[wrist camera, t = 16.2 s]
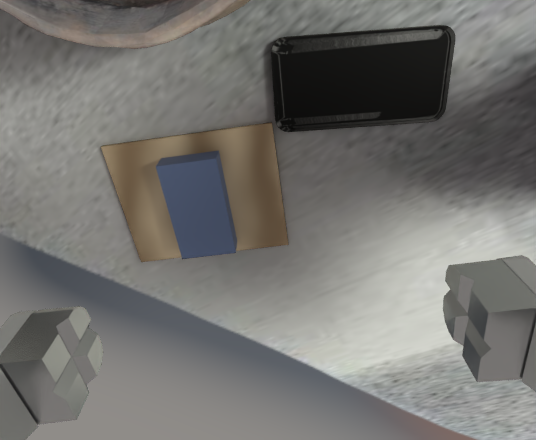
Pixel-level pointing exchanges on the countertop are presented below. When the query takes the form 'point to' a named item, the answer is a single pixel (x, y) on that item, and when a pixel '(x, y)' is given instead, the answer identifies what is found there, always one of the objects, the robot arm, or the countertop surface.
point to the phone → (362, 78)
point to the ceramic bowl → (119, 19)
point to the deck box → (198, 204)
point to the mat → (236, 178)
